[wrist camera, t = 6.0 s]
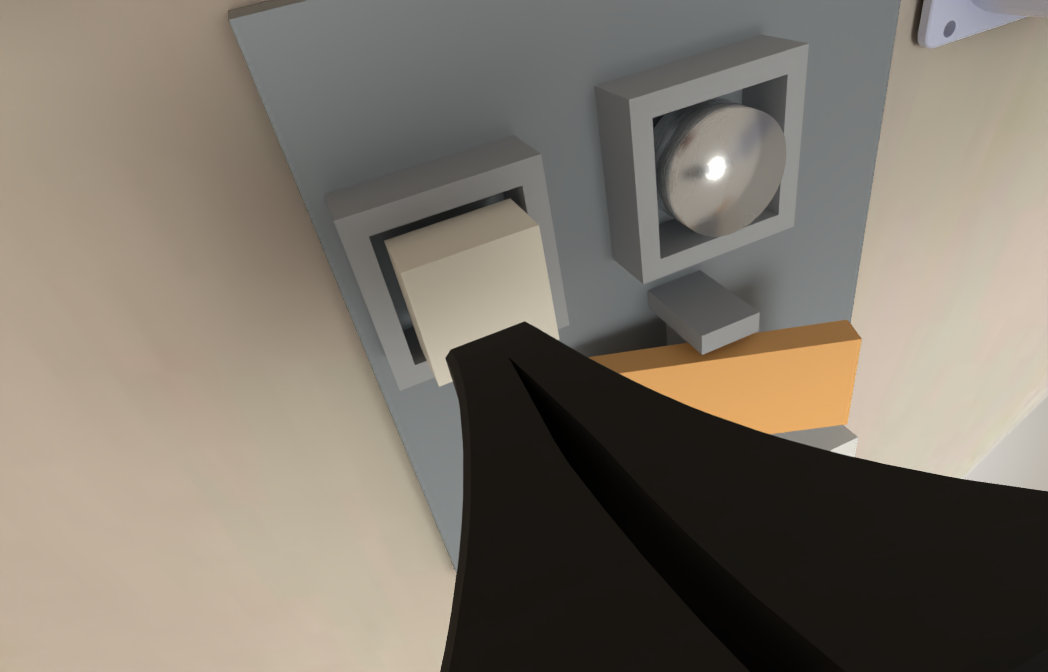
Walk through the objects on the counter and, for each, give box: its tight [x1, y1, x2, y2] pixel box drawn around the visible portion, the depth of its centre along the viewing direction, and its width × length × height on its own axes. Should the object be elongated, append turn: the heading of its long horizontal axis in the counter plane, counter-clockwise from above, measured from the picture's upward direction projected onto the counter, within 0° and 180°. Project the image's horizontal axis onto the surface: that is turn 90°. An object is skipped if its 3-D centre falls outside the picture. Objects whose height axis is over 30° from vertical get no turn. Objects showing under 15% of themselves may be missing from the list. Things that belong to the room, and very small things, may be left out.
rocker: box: [589, 320, 862, 434], centre depth 20 cm, size 8×4×1 cm, turn 101°
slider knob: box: [771, 425, 858, 457], centre depth 26 cm, size 2×2×3 cm
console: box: [228, 0, 901, 573], centre depth 21 cm, size 18×22×5 cm
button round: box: [653, 97, 786, 237], centre depth 17 cm, size 3×3×2 cm
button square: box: [384, 198, 560, 387], centre depth 15 cm, size 3×3×2 cm
